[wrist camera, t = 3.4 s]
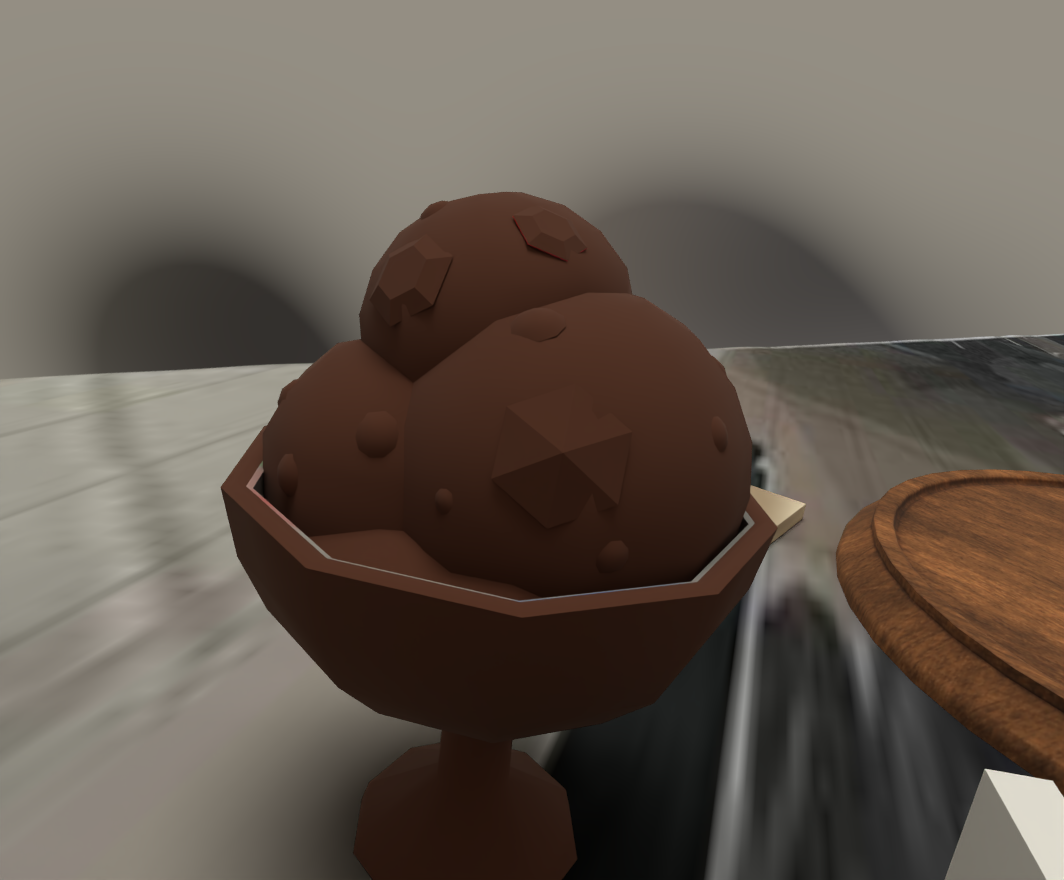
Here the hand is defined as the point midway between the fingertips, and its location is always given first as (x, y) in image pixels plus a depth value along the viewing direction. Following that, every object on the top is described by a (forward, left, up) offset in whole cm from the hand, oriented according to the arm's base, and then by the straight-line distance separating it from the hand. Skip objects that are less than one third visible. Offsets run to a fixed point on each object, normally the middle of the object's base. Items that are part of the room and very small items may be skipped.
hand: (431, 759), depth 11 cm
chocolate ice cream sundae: (-4, +6, -9) cm, 11 cm away
